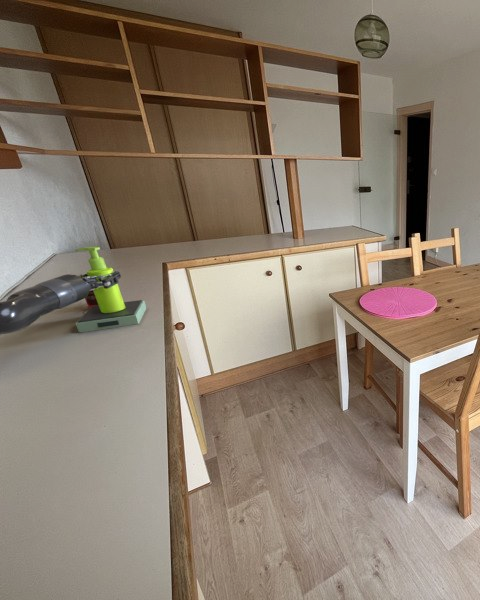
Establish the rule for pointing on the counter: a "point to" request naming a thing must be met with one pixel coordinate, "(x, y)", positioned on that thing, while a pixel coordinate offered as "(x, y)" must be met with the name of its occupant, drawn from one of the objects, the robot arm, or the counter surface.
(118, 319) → the scale
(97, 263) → the soap dispenser
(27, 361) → the counter surface
